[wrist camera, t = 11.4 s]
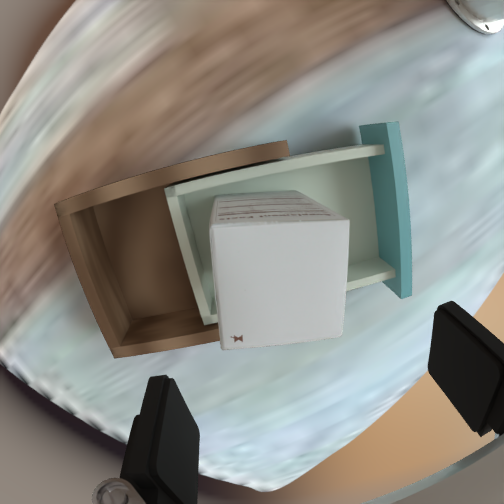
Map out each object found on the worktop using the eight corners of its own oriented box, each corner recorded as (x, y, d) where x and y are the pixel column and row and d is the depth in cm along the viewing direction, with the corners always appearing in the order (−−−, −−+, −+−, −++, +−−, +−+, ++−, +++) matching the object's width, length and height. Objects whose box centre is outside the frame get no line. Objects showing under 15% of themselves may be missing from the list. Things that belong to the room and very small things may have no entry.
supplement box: (298, 266, 30) (343, 341, 18) (218, 272, 29) (217, 354, 17) (298, 187, 27) (354, 218, 15) (213, 191, 27) (205, 225, 15)
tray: (370, 124, 27) (398, 121, 22) (386, 274, 32) (411, 295, 27) (168, 163, 27) (155, 166, 21) (210, 318, 32) (209, 348, 26)
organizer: (273, 142, 28) (286, 140, 22) (301, 289, 33) (316, 317, 27) (82, 193, 27) (54, 204, 22) (129, 326, 32) (114, 358, 27)
